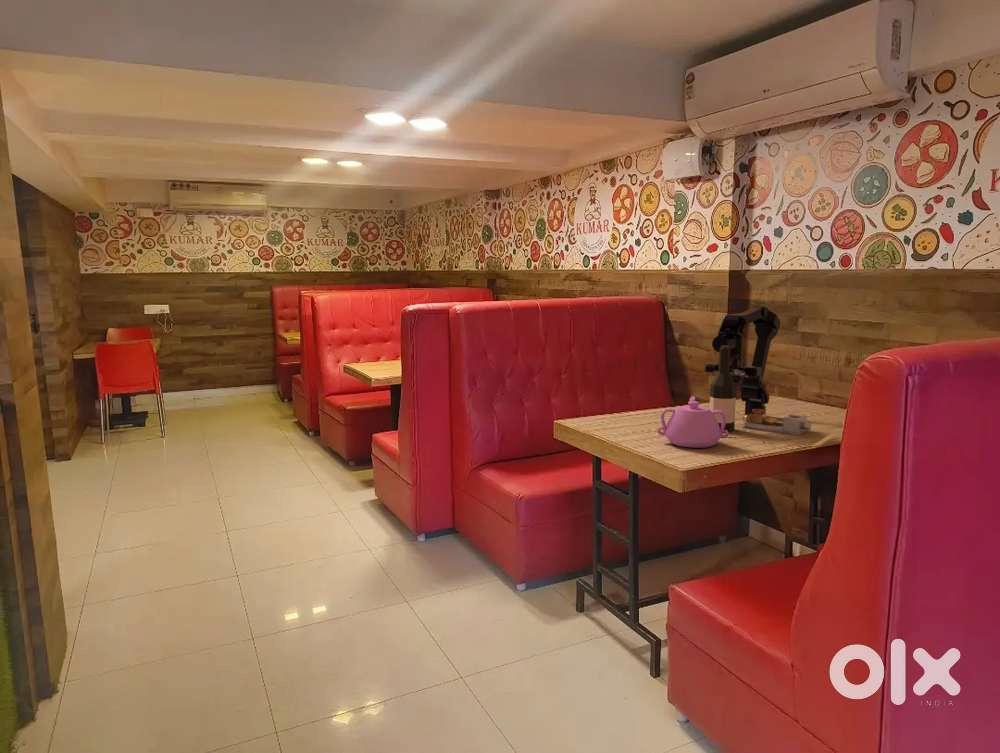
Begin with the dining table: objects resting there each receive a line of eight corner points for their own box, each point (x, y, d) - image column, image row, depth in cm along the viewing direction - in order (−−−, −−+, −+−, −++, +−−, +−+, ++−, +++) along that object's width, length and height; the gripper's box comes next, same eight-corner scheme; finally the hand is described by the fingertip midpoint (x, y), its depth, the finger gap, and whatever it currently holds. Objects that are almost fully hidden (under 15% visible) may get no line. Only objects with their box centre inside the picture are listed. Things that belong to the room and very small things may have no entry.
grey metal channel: (740, 430, 234) (741, 413, 233) (753, 424, 243) (754, 408, 242) (803, 439, 221) (805, 421, 220) (814, 433, 230) (815, 415, 229)
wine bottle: (734, 430, 234) (738, 345, 230) (734, 436, 226) (738, 347, 222) (709, 429, 237) (712, 344, 233) (708, 434, 229) (711, 346, 225)
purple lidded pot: (724, 436, 227) (725, 395, 225) (731, 452, 206) (732, 408, 204) (657, 433, 232) (658, 393, 230) (657, 448, 211) (658, 405, 209)
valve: (741, 425, 238) (742, 408, 237) (746, 423, 241) (747, 406, 240) (773, 429, 231) (774, 412, 230) (777, 427, 234) (778, 410, 233)
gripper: (699, 350, 239) (697, 393, 241) (751, 353, 227) (749, 399, 229) (712, 347, 247) (710, 389, 249) (763, 350, 235) (761, 394, 237)
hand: (731, 393), depth 241 cm, fingers closed
